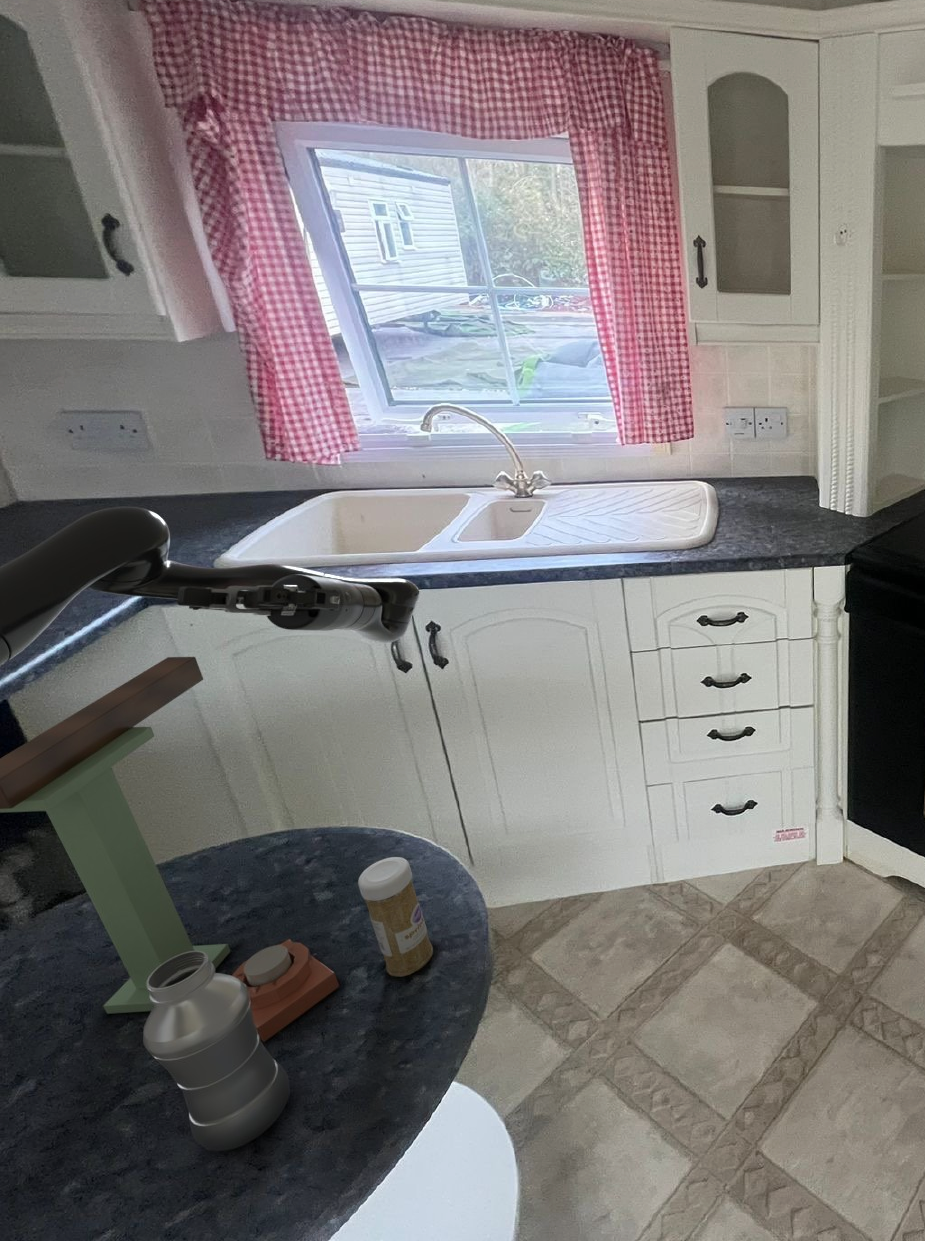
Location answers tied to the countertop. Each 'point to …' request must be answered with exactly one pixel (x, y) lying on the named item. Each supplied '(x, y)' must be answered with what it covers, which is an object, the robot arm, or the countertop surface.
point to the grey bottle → (213, 1051)
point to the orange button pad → (289, 991)
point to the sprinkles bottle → (396, 915)
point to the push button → (267, 965)
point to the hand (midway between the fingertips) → (220, 595)
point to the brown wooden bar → (92, 728)
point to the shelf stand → (117, 867)
